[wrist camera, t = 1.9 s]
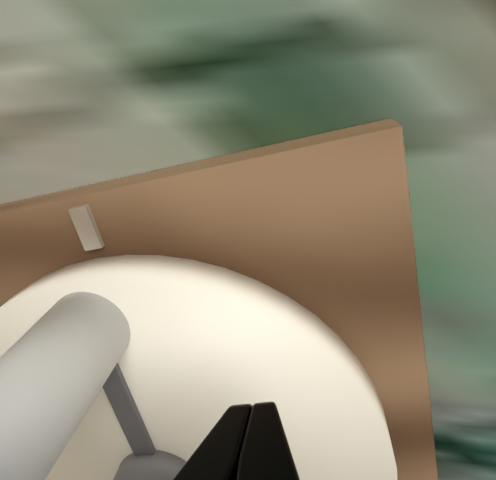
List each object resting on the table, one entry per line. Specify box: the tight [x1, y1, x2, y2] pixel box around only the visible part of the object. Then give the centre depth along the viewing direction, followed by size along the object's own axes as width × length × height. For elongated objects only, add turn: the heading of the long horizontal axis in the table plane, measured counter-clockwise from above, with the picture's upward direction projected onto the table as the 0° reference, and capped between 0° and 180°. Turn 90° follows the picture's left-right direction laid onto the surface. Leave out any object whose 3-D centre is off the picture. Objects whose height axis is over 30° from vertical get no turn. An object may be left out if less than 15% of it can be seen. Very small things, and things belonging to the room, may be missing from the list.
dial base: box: [0, 118, 438, 480], centre depth 17 cm, size 20×19×2 cm
